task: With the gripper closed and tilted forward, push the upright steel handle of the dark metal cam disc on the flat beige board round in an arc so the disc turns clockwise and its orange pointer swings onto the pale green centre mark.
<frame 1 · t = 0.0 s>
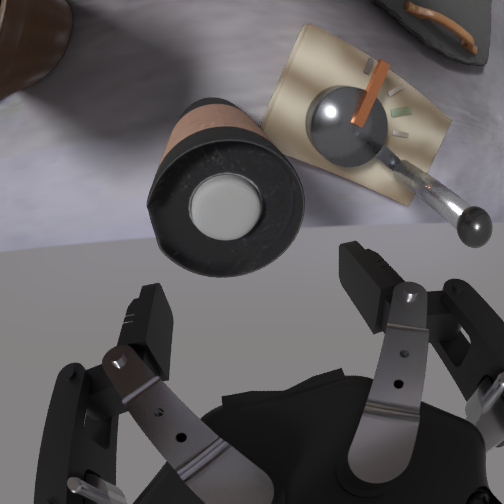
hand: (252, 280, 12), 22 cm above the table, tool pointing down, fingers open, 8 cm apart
flat beige board: (365, 122, 31), on the table
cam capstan: (416, 141, 22), point 11 cm above the table, hinge at 0.0°
plant pot: (30, 41, 17), on the table
travel mug: (211, 127, 29), on the table
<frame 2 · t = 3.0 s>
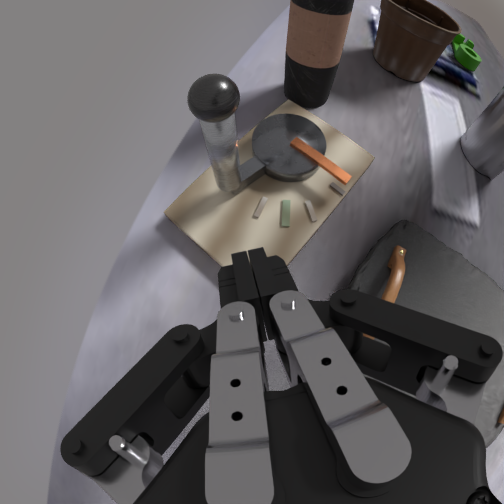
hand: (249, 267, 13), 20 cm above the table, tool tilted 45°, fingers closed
tape dispenser: (462, 57, 48), on the table
flat beige board: (276, 186, 36), on the table
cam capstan: (292, 132, 25), point 11 cm above the table, hinge at 0.0°
plant pot: (398, 64, 44), on the table
serving board: (452, 350, 30), on the table
travel mug: (305, 94, 40), on the table
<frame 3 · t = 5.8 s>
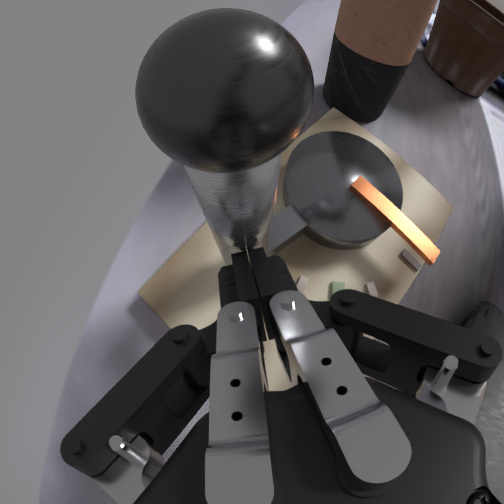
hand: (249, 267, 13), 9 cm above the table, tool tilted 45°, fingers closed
flat beige board: (317, 251, 23), on the table
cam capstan: (379, 182, 12), point 11 cm above the table, hinge at -1.2°, touching gripper
plant pot: (452, 72, 31), on the table
serving board: (496, 444, 17), on the table
travel mug: (352, 101, 28), on the table
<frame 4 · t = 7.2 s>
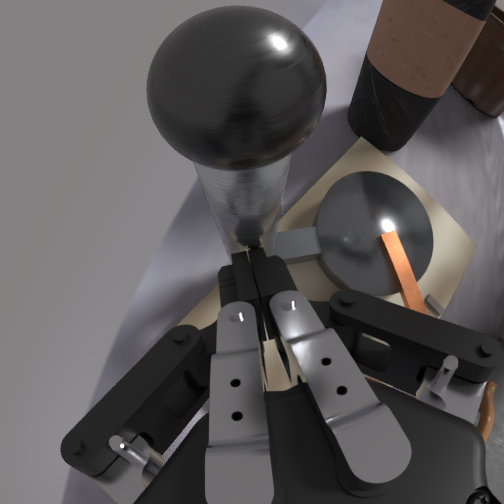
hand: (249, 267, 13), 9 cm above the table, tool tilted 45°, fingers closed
flat beige board: (343, 295, 22), on the table
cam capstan: (397, 243, 11), point 11 cm above the table, hinge at -27.4°, touching gripper
plant pot: (471, 88, 29), on the table
serving board: (497, 466, 16), on the table
travel mug: (377, 125, 26), on the table
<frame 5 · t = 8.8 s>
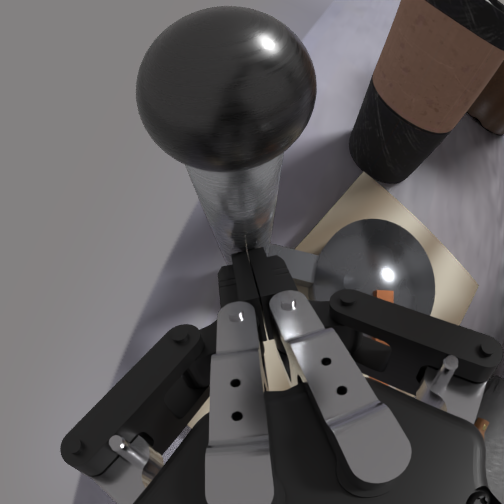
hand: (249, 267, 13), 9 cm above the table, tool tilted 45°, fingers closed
flat beige board: (339, 344, 21), on the table
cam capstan: (375, 304, 11), point 11 cm above the table, hinge at -51.5°, touching gripper
plant pot: (477, 104, 29), on the table
serving board: (487, 490, 15), on the table
travel mug: (380, 154, 25), on the table
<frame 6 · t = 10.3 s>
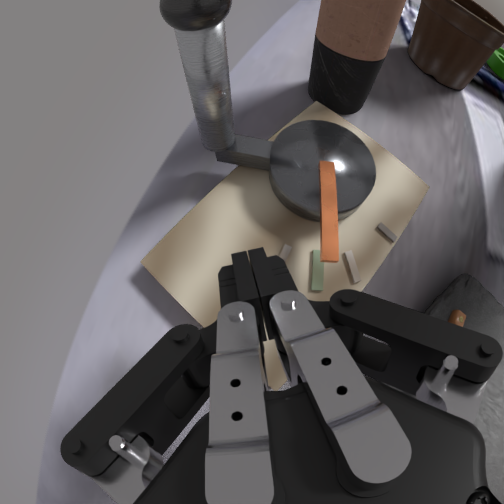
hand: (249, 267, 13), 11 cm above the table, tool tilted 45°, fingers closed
tape dispenser: (494, 65, 38), on the table
flat beige board: (301, 225, 25), on the table
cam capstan: (296, 126, 16), point 11 cm above the table, hinge at -51.6°
plant pot: (435, 67, 34), on the table
serving board: (483, 426, 20), on the table
travel mug: (335, 95, 30), on the table
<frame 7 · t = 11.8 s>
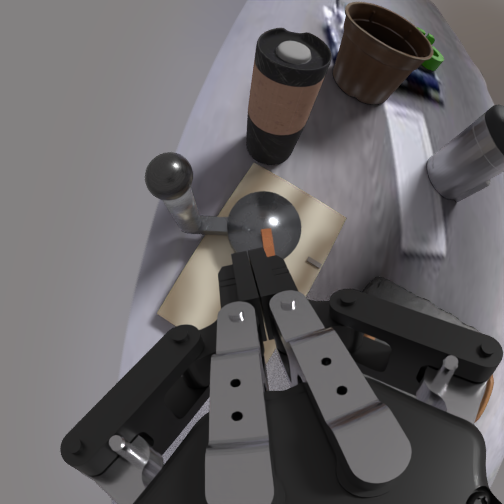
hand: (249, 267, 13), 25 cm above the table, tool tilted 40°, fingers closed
tape dispenser: (422, 54, 52), on the table
flat beige board: (255, 266, 38), on the table
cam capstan: (243, 232, 28), point 11 cm above the table, hinge at -51.6°
plant pot: (359, 82, 47), on the table
serving board: (417, 378, 38), on the table
travel mug: (269, 145, 42), on the table
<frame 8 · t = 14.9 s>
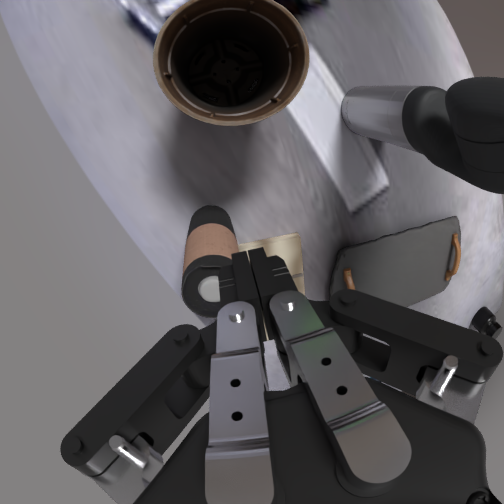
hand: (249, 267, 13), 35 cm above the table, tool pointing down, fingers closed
flat beige board: (266, 292, 58), on the table
ink bottle: (478, 315, 81), on the table
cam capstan: (262, 330, 48), point 11 cm above the table, hinge at -51.6°
plant pot: (224, 72, 38), on the table
serving board: (398, 267, 62), on the table
travel mug: (210, 224, 50), on the table
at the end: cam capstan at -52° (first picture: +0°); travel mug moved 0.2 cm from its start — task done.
